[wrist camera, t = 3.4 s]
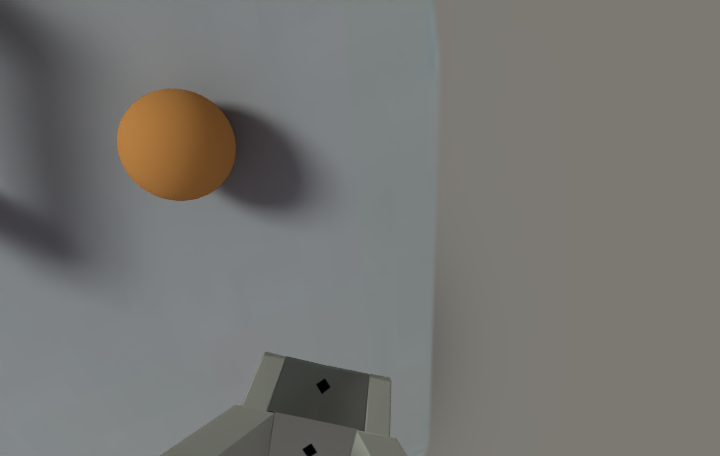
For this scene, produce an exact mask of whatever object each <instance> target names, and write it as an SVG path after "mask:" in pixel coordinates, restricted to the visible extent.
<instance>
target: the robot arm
mask: <svg viewBox="0 0 720 456" xmlns="http://www.w3.org/2000/svg"><path fill="white" fill-rule="evenodd" d="M390 414H391V379H390V378H389V377H384V376H379V375H373V374H367V373H362V372H357V371H352V370H347V369H342V368H337V367H332V366H326V365H322V364H318V363H314V362H309V361H305V360H301V359H296V358H292V357H288V356H287V357H285V356H281V355H277V354H273V353H269V352H265V353H264V355H263V356H262V358H261V360H260V363H259V365H258V368H257V370H256V372H255V375H254V377H253V380H252V382H251V385H250V387H249V389H248V392H247V394H246V397H245V399H244V401H243V404H242V406H238V405H234V406H233V407H231V408H230V409H228V410H227V411H225V412H224V413H222V414H221V415H219V416H218V417H216V418H215V419H213V420H212V421H211V422H209V423H208V424H206V425H205V426H203V427H202V428H200V429H199V430H197V431H196V432H194V433H193V434H191V435H190V436H188V437H187V438H185V439H184V440H182V441H181V442H179V443H178V444H177V445H175V446H174V447H172V448H171V449H169V450H168V451H166V452H165V453H163V454H162V455H160V456H407V455H406V453H405V452H404V450H403V448H402V447H401V445H400V444H399V442H398V440H397V439H396V438H392V437H390Z"/></svg>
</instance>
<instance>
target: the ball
mask: <svg viewBox="0 0 720 456" xmlns="http://www.w3.org/2000/svg"><path fill="white" fill-rule="evenodd" d="M117 147H118V153H119V157H120V160H121V162H122V165H123V166H124V168H125V170H126V172H127V173H128V175H129V176H130V177H131V178H132V179H133V180H134V181H135V182H136V183H137V184H138V185H139V186H140V187H141V188H143V189H144V190H146V191H148V192H149V193H151V194H153V195H155V196H158V197H161V198H164V199H169V200H176V201H185V200H193V199H197V198H200V197H203V196H205V195H208V194H209V193H211V192H213V191H214V190H216V189H217V188H218V187H219V186H220V185H221V184H222V183H223V182H224V181H225V180H226V178H227V177H228V175H229V174H230V172H231V170H232V167H233V165H234V161H235V156H236V141H235V136H234V132H233V129H232V127H231V125H230V123H229V121H228V119H227V118H226V116H225V115H224V113H223V112H222V111H221V110H220V109H219V108H218V107H217V106H216V105H215V104H214V103H212V102H211V101H210V100H208V99H207V98H205V97H203V96H201V95H199V94H197V93H194V92H191V91H187V90H182V89H163V90H158V91H154V92H151V93H149V94H147V95H145V96H143V97H141V98H140V99H138V100H137V101H136V102H134V103H133V104H132V105H131V106H130V107H129V109H128V110H127V111H126V113H125V114H124V116H123V118H122V120H121V122H120V125H119V129H118V134H117Z"/></svg>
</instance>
